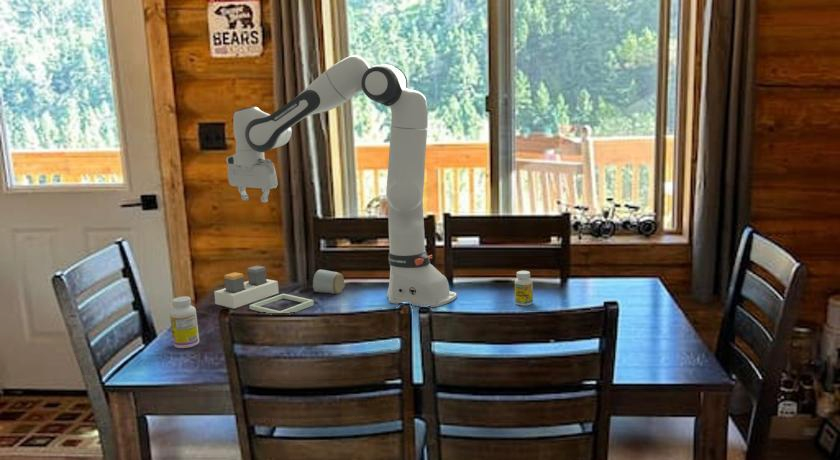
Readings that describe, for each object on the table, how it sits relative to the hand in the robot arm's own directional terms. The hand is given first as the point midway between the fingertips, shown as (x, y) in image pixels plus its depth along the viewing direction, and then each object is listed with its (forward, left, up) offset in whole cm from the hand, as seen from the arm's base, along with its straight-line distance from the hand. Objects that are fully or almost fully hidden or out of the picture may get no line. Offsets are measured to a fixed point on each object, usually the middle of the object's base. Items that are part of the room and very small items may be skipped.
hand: (254, 201), depth 234 cm
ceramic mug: (-21, -11, -31) cm, 39 cm away
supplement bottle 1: (-21, +44, -31) cm, 58 cm away
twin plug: (-5, +6, -29) cm, 30 cm away
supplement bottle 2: (-81, -32, -31) cm, 92 cm away
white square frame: (-21, +10, -30) cm, 38 cm away
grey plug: (-5, +15, -29) cm, 33 cm away
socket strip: (-5, +10, -30) cm, 32 cm away
